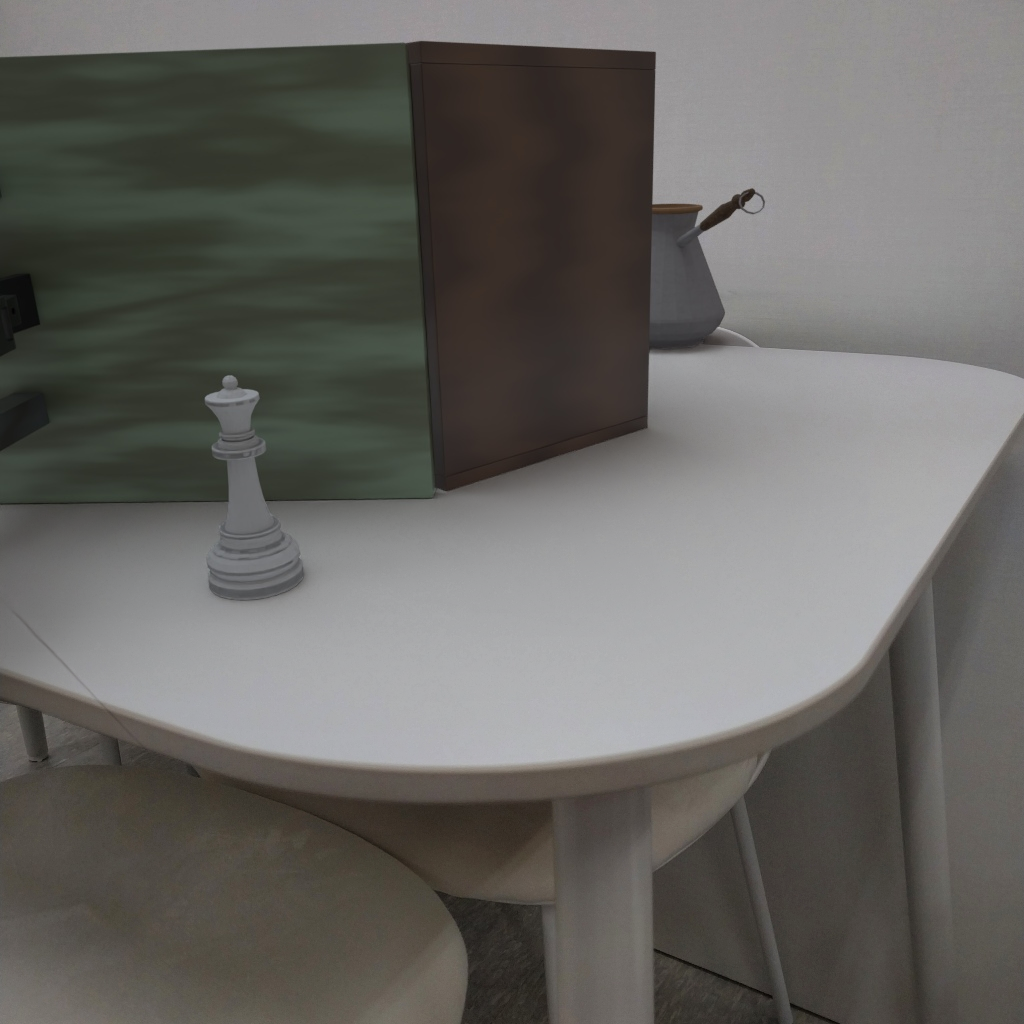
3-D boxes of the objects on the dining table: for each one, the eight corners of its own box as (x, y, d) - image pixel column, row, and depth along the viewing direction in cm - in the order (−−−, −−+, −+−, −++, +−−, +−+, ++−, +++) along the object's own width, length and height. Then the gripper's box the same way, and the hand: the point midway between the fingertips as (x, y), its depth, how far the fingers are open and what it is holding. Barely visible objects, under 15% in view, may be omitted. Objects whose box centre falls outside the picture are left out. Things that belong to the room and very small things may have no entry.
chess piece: (306, 559, 48) (283, 361, 45) (302, 597, 44) (276, 383, 41) (216, 567, 48) (185, 367, 44) (203, 606, 44) (168, 390, 40)
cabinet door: (417, 545, 49) (381, 27, 41) (-78, 550, 51) (-214, 49, 42) (435, 491, 57) (408, 44, 48) (4, 496, 58) (-97, 62, 49)
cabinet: (446, 493, 57) (420, 40, 48) (238, 413, 75) (192, 74, 66) (647, 429, 68) (656, 51, 59) (424, 373, 86) (405, 78, 77)
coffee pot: (589, 335, 100) (589, 182, 94) (690, 326, 103) (695, 177, 97) (683, 381, 81) (690, 191, 75) (803, 368, 84) (818, 185, 78)
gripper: (-576, 529, 32) (-109, 370, 54) (-146, 526, 31) (151, 366, 53) (-683, 299, 29) (-146, 231, 51) (-216, 288, 28) (128, 223, 50)
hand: (5, 300), depth 52 cm, fingers closed on cabinet door, 2 cm apart
